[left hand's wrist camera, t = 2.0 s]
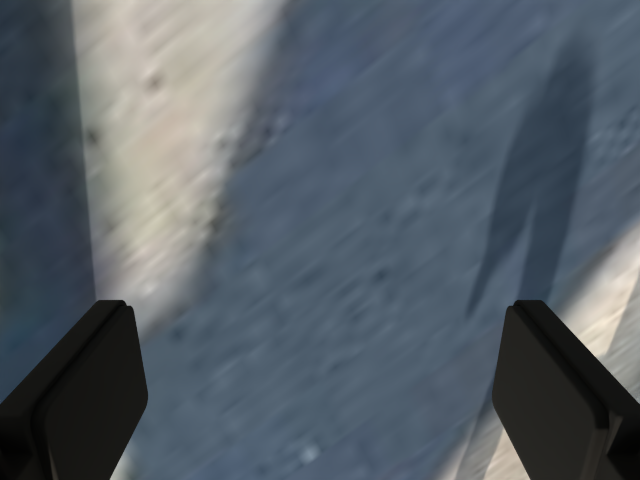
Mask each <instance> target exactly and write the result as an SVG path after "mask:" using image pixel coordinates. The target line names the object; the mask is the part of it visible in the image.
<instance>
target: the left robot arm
mask: <svg viewBox="0 0 640 480" xmlns="http://www.w3.org/2000/svg"><path fill="white" fill-rule="evenodd" d="M147 401H148V391H147V385H146V379H145V373H144V367H143V362H142V356H141V350H140V344H139V338H138V332H137V327H136V321H135V315H134V310H133V308H132V307H131V306H127V305H126V303H125V301H123V300H98V301H97V302H96V303H95V304H94V305H93V306H92V307H91V308H90V309H89V310H88V311H87V312H86V314H85V315H84V316H83V317H82V318H81V319H80V320H79V321H78V322H77V323H76V324H75V325H74V326H73V327H72V328H71V330H70V331H69V332H68V333H67V334H66V335H65V336H64V337H63V338H62V339H61V340H60V341H59V342H58V343H57V344H56V346H55V347H54V348H53V349H52V350H51V351H50V352H49V353H48V354H47V355H46V356H45V357H44V358H43V359H42V360H41V362H40V363H39V364H38V365H37V366H36V367H35V368H34V369H33V370H32V371H31V372H30V373H29V374H28V375H27V376H26V378H25V379H24V380H23V381H22V382H21V383H20V384H19V385H18V386H17V387H16V388H15V389H14V390H13V391H12V392H11V394H10V395H9V396H8V397H7V398H6V399H5V400H4V401H3V402H2V403H1V404H0V480H110V478H111V476H112V474H113V472H114V470H115V468H116V466H117V464H118V462H119V460H120V458H121V456H122V454H123V452H124V450H125V448H126V446H127V444H128V442H129V440H130V438H131V436H132V434H133V432H134V430H135V428H136V426H137V424H138V422H139V420H140V418H141V416H142V414H143V412H144V410H145V408H146V406H147ZM492 401H493V406H494V408H495V410H496V412H497V414H498V416H499V418H500V420H501V422H502V424H503V426H504V428H505V430H506V432H507V434H508V436H509V438H510V440H511V442H512V444H513V446H514V448H515V450H516V452H517V454H518V456H519V458H520V460H521V462H522V464H523V466H524V468H525V470H526V472H527V474H528V476H529V478H530V480H640V404H639V403H638V402H637V401H636V400H635V399H634V398H633V397H632V396H631V395H630V394H629V392H628V391H627V390H626V389H625V388H624V387H623V386H622V385H621V384H620V383H619V382H618V381H617V380H616V379H615V378H614V376H613V375H612V374H611V373H610V372H609V371H608V370H607V369H606V368H605V367H604V366H603V365H602V364H601V363H600V362H599V360H598V359H597V358H596V357H595V356H594V355H593V354H592V353H591V352H590V351H589V350H588V349H587V348H586V347H585V346H584V344H583V343H582V342H581V341H580V340H579V339H578V338H577V337H576V336H575V335H574V334H573V333H572V332H571V331H570V330H569V328H568V327H567V326H566V325H565V324H564V323H563V322H562V321H561V320H560V319H559V318H558V317H557V316H556V315H555V314H554V312H553V311H552V310H551V309H550V308H549V307H548V306H547V305H546V304H545V303H544V302H543V301H542V300H517V301H515V303H514V305H513V306H509V307H508V308H507V310H506V315H505V321H504V327H503V332H502V338H501V344H500V350H499V356H498V362H497V367H496V373H495V379H494V385H493V391H492Z"/></svg>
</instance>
